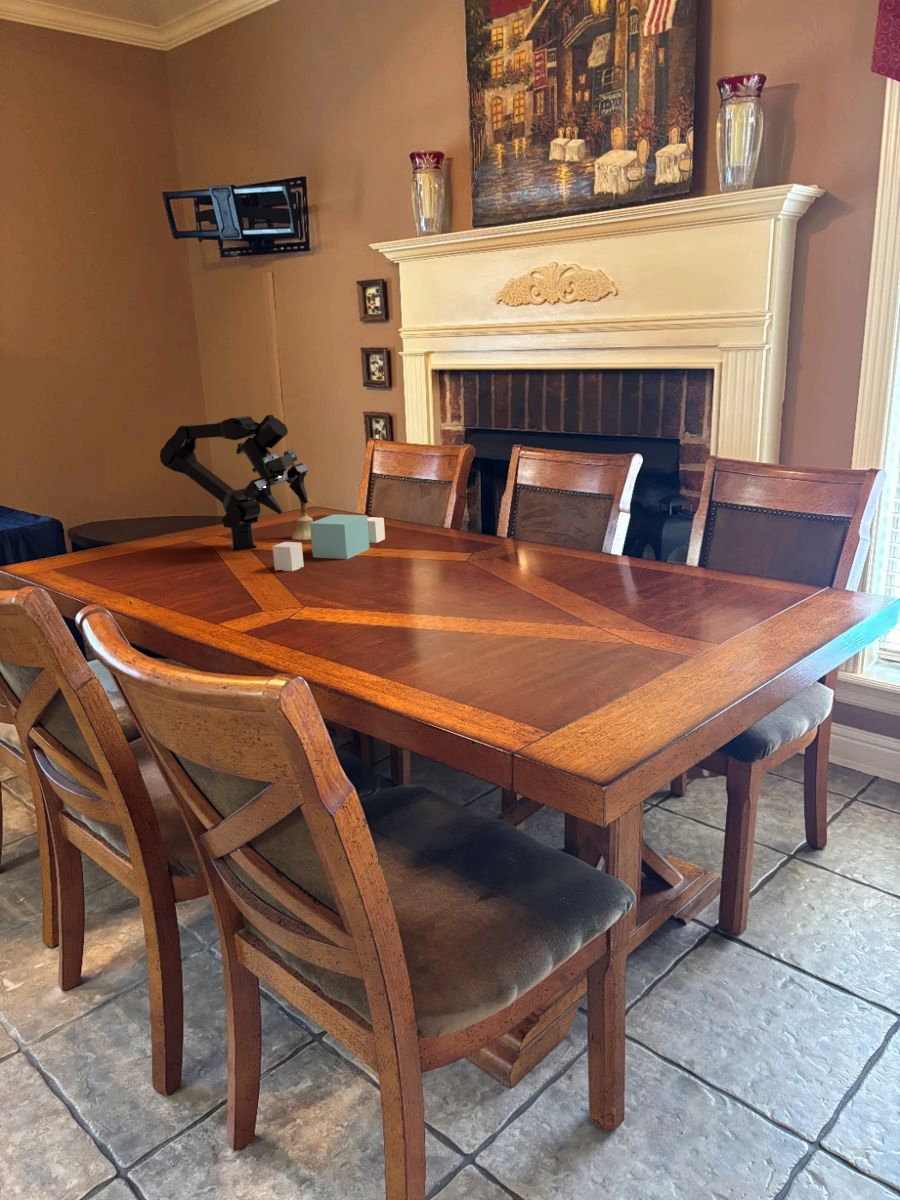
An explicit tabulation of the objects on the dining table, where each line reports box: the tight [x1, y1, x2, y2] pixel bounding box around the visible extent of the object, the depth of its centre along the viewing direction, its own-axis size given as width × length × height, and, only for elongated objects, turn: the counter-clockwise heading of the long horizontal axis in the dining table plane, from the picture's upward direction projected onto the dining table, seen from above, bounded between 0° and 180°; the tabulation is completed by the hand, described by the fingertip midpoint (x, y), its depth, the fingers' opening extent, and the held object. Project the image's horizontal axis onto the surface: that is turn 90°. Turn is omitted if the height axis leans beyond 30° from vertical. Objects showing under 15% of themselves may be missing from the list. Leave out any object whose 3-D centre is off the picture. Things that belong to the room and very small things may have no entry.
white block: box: [271, 541, 305, 572], centre depth 206 cm, size 5×5×6 cm
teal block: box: [310, 513, 370, 560], centre depth 219 cm, size 10×12×9 cm
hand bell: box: [291, 483, 314, 541], centre depth 239 cm, size 8×8×16 cm
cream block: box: [367, 516, 386, 544], centre depth 233 cm, size 5×5×6 cm
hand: (294, 508), depth 221 cm, fingers open, 9 cm apart
